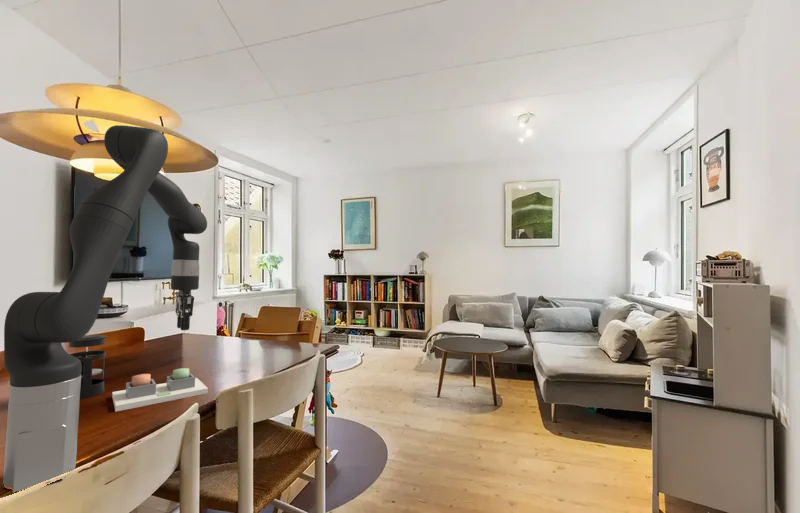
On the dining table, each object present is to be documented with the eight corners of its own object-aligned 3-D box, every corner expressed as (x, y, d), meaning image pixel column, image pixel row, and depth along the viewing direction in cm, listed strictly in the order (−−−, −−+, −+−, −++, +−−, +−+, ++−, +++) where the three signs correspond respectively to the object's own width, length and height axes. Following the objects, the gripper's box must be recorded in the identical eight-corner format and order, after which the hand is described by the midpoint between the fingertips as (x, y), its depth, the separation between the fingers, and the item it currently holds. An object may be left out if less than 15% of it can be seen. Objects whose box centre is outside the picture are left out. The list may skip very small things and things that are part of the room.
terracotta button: (151, 386, 101) (151, 376, 101) (132, 390, 98) (132, 379, 98) (149, 383, 104) (149, 372, 104) (130, 386, 101) (131, 375, 101)
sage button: (190, 380, 108) (190, 370, 108) (173, 382, 105) (174, 372, 105) (187, 376, 111) (187, 367, 111) (171, 379, 108) (171, 369, 108)
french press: (61, 393, 105) (66, 316, 106) (102, 386, 111) (106, 314, 112) (63, 403, 96) (68, 320, 98) (107, 395, 103) (111, 317, 104)
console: (207, 393, 107) (208, 378, 107) (115, 411, 92) (116, 394, 92) (196, 382, 117) (197, 368, 117) (112, 397, 102) (112, 381, 102)
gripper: (204, 274, 107) (202, 330, 106) (193, 274, 117) (191, 325, 116) (176, 274, 102) (173, 333, 101) (167, 274, 112) (164, 327, 111)
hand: (183, 328), depth 109 cm, fingers open, 5 cm apart
